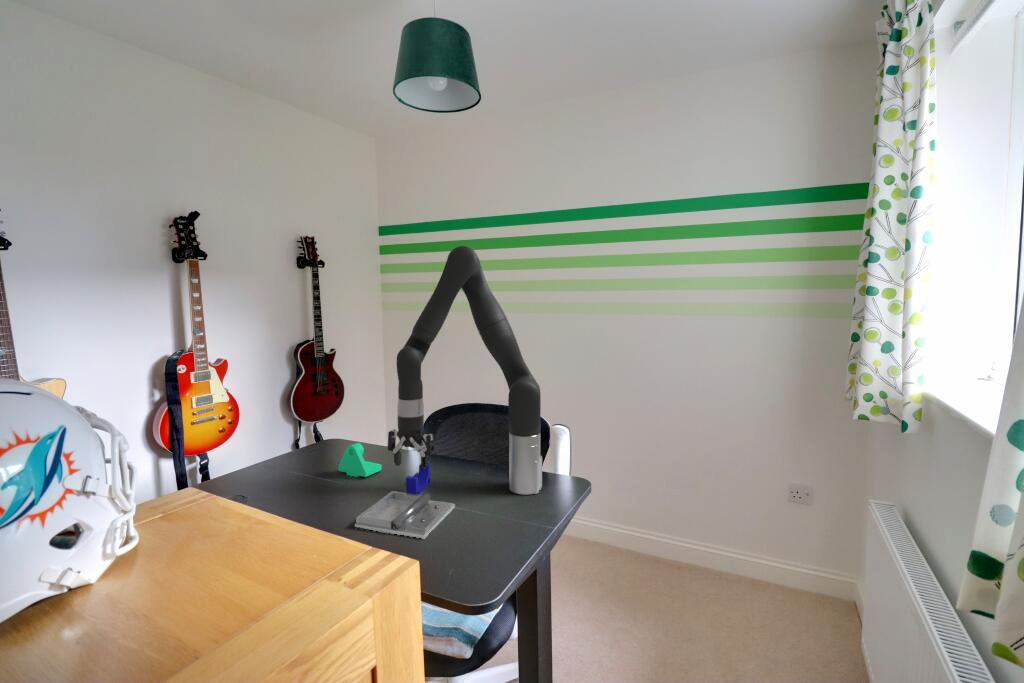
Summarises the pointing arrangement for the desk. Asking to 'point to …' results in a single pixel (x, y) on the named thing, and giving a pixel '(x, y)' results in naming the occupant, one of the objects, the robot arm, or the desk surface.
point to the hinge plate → (398, 510)
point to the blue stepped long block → (418, 481)
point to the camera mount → (357, 462)
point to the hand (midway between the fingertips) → (411, 466)
